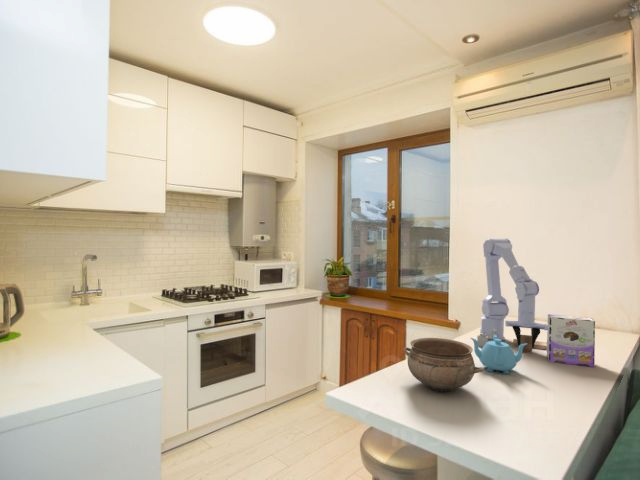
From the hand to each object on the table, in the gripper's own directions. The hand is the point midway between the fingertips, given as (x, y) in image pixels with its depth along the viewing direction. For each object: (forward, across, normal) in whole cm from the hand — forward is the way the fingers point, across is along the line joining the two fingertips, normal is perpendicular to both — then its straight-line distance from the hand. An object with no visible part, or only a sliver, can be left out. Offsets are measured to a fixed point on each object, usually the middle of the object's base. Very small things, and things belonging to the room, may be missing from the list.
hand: (525, 346), depth 148 cm
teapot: (+2, -12, -27) cm, 30 cm away
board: (+2, +4, +9) cm, 10 cm away
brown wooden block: (+2, 0, +3) cm, 3 cm away
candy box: (+2, +13, -8) cm, 15 cm away
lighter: (+2, -14, -1) cm, 14 cm away
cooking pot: (+2, -29, -51) cm, 59 cm away
